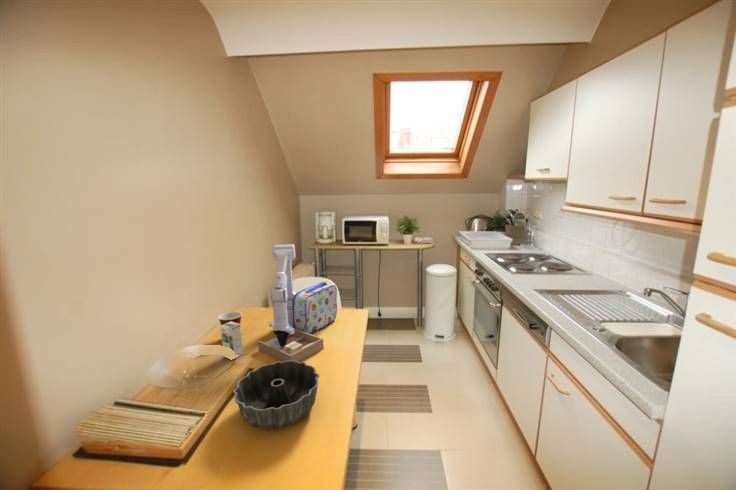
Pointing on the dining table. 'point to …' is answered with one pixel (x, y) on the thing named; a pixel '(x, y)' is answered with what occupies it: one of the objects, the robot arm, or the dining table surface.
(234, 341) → the syrup box
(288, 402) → the bundt pan
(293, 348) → the ash block
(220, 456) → the dining table surface
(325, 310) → the lunch box
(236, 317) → the plastic cup
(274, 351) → the divided box
